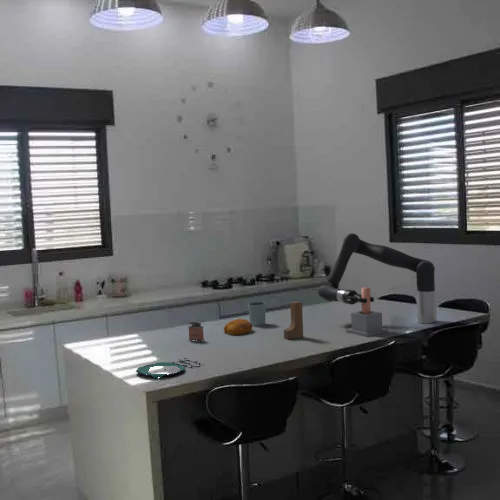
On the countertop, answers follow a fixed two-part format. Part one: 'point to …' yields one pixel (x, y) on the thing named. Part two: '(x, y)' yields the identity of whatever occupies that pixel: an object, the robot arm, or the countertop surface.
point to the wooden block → (295, 321)
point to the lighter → (195, 331)
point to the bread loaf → (238, 327)
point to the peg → (366, 295)
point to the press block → (366, 324)
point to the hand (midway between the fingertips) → (369, 300)
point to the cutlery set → (145, 369)
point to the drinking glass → (257, 313)
